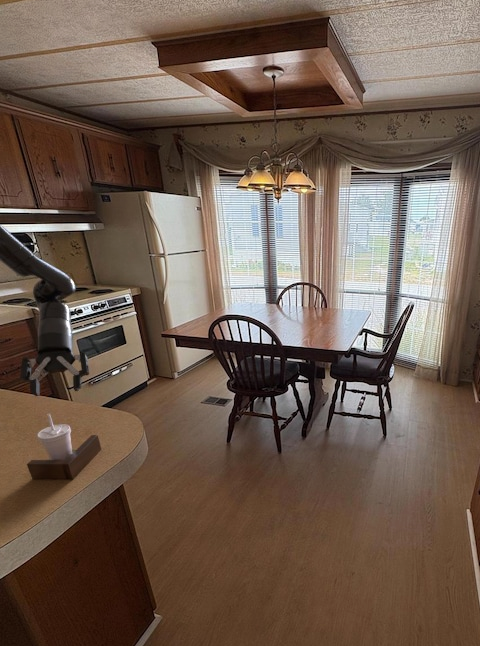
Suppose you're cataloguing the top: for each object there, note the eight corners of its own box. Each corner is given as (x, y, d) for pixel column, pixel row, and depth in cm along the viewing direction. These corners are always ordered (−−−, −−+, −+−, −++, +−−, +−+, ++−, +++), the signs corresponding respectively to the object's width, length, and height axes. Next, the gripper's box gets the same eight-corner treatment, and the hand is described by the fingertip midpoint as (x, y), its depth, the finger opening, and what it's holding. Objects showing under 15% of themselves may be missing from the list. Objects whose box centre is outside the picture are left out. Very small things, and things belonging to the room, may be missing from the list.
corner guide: (27, 479, 80) (21, 464, 78) (62, 449, 91) (57, 434, 89) (73, 479, 80) (68, 464, 79) (101, 449, 91) (97, 434, 90)
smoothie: (76, 453, 89) (62, 405, 84) (82, 464, 85) (68, 415, 79) (46, 463, 85) (29, 414, 79) (50, 476, 81) (33, 425, 75)
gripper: (16, 333, 88) (15, 392, 83) (82, 329, 94) (85, 383, 88) (28, 346, 94) (28, 401, 89) (89, 341, 100) (92, 393, 95)
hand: (56, 392), depth 89 cm, fingers open, 8 cm apart
